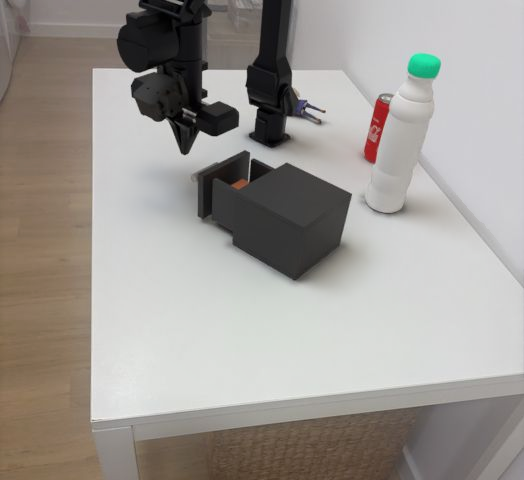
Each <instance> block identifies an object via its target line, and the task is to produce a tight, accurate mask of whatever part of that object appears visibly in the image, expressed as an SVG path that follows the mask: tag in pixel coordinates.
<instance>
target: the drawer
mask: <svg viewBox="0 0 524 480" xmlns="http://www.w3.org/2000/svg"><path fill="white" fill-rule="evenodd" d="M274 169H276V168H275V167H273V166H271V165H269V164H267V163H265V162H263V161H261V160H259V159H257V158H254V157H253V158H251V152H250V151H249V150H246V149H244V150H242V151H240V152H238V153H236V154H234V155H232V156H230V157H228V158H225V159H224V160H222V161H220V162H218V161H216V162H213V163H211V164H210V165H208V166H206V167H204V168H201V169H200V170H198V171H196V172H194V173H191V174H190V180H191V181H192V182H193V183H197V217H198V218H200V219H201V220H205V219H207V218H208V217H210V216H211V220H212V221H214V222H215V223H217V224H218V225H221V226H222V227H224V228H226V229H227V230H229V231H230V232H233V225H234V209H235V192H236V191H237V190H238V189H236V188H235V187H233V186H231V185H232V184H234V183H236V182H238V181H240V180H241V179H244V180H246V181H247V182H249V183H251V182H253V181H254V180H256V179H258V178H260V177H262V176H263V175H265V174H267V173H269V172H270V171H272V170H274Z"/></svg>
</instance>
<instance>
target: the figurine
mask: <svg viewBox="0 0 524 480" xmlns="http://www.w3.org/2000/svg"><path fill="white" fill-rule="evenodd" d="M292 88H293V90H294V92H295V94H296V96H297V97H298V99H299V98H301V95H300V92H299V91H298V89H296V88H295V87H293V86H292ZM307 108H308V109H311V110H314V111H316V112H317V111H318V112H320V113H322V114H326V112H327V110H325V109H321V108H319V107H317V106H314V105H312V104H311V103H309V102H308V99H299V102H298V105H297V109H296V111H295V112H296V114H297V115H299V117H302V116H306V117H308V118H311V119H313V120H315V121H316V122H318V124H322V119H320V118H318V117H316V116H314V115H313V114H311V113H309V112H307V111H306V109H307Z"/></svg>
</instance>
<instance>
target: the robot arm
mask: <svg viewBox="0 0 524 480" xmlns="http://www.w3.org/2000/svg"><path fill="white" fill-rule="evenodd" d="M176 1H178V2H180V3H181V4H179V3H175V2H173V1H170V0H139V1H138V3H137V4H138V8H140V9H142V10H140V11H131V12H128V13H126V14H125V24H124V25H122V26H121V27H120V28H119V30H118V33H117V38H116V47H117V51H118V55H119V57H120V59H121V61H122V62H123V63H124V65H125V66H126V67H127V68H128V69H129V70H130V71H132V72H133V73H136V74H141V73H144V72H147V71H150V70H152V69H154V68H156V71H152V72H149V73H146V74H143V75H140V76H137V77H134V78H133V81H132V82H131V84H130V93H131V98H132V99H134V100H135V104H136V106H137V108H138V111H139V113H140V115H142V116H143V117H144V116H145V117H147V118H149V119H151V120H152V121H154V123H155V122H156V123H162V122H164V121H165V120H166V121H167V122H168V123H169V126H170V129H171V131H172V134H173V136H174V138H175V141H176V144H177V147H178V149H179V153H180V154H181V155H183V156H187V155H189V154H190V152H191V150H192V148H193V145H194V143H195V141H196V139H197V137H198V135H199V133H200V132H201V133H203V134H205V135H208V136H210V137H213V138H214V137H215V138H217V137H220V136H222V135H224V134H226V133H228V132H230V131H232V130H234V129H237V128H239V127H240V111H238V110H237V108H236V107H233V106H231V105H229V104H227V103H225V102H223V101H220V100H218V101H216V102H213V103H211V104H210V103H208V102H206V101H204V100H203V99H207V98H208V95H209V94H208V93H209V91H208V90H207V89H205V88H203V72H204V71H205V72H206V71H208V70H209V62H208V61H206V60H204V59H203V20H204V19H205V18H209V17H211V16H212V15H213V11H212V10H211V8H210V7H209V6H208V5H207V4H206V3H205V2H206V0H176ZM292 1H293V0H262V4H261V5H262V6H261V7H262V8H261V19H260V21H261V22H260V32H259V44H258V45H259V47H258V55H257V56H256V57H255V59H254V60H253V62H252V63H251V64H248V65H247V67H246V81H245V85H244V87H245V88H246V93H247V98H248V104H249V105H250V106H254V107H257V108H256V115H255V121H254V129H253V131H251V132H249V133H248V137H249V138H251V139H253V140H254V141H257V142H259V143H262V144H264V145H266V146H268V147H270V148H274V147H276V146H277V145H280V144H282V143H284V142H286V141H288V140H290V139H291V135H290V134H288V133H286V126H287V118H288V117H293V116H295V112H296V109H297V105H298V102H299V100H300V99H299V97H298V96H296V94H295V92H294V90H293V88H294V87H293V71H292V68H291V66H290V63H289V60H288V58H287V48H288V47H287V46H288V37H289V26H290V18H291V10H292V9H291V8H292ZM292 87H293V88H292Z"/></svg>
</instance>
